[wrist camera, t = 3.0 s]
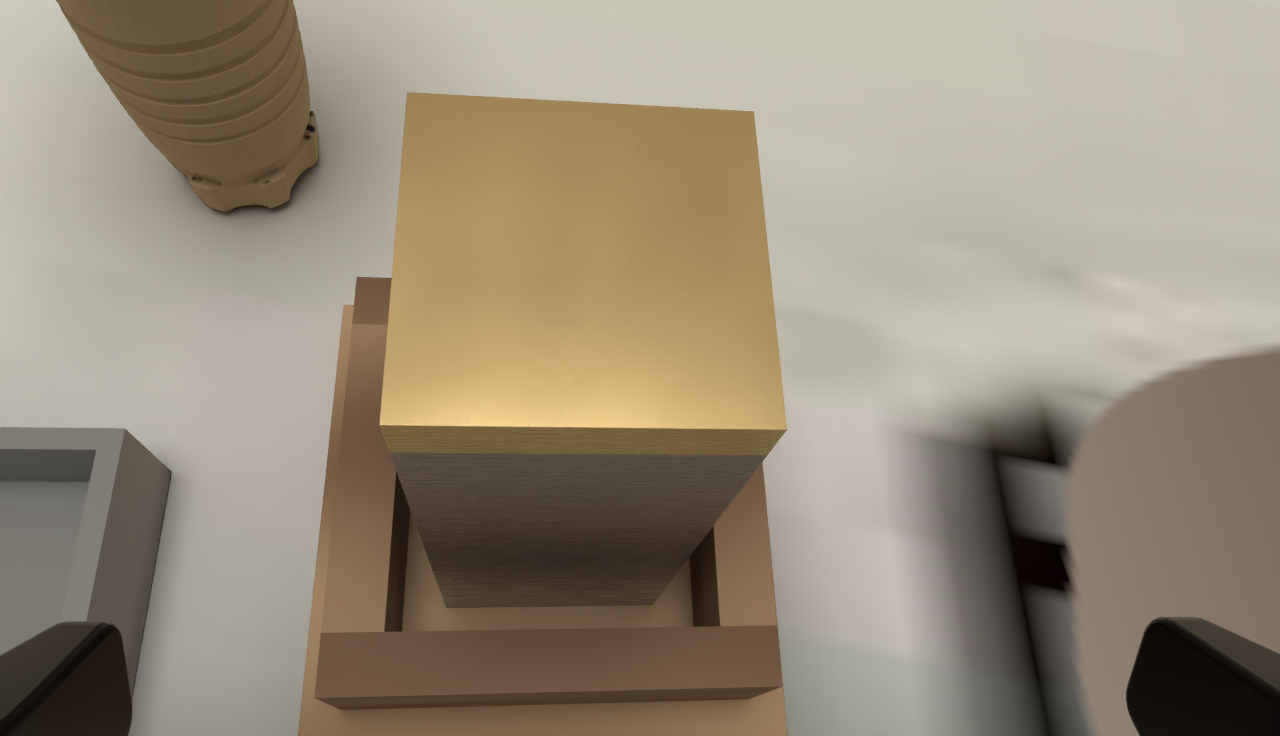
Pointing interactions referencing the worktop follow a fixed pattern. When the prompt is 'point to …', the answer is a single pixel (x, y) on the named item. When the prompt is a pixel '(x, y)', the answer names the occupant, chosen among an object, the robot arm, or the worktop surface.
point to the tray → (78, 531)
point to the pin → (576, 342)
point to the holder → (517, 613)
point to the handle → (210, 89)
